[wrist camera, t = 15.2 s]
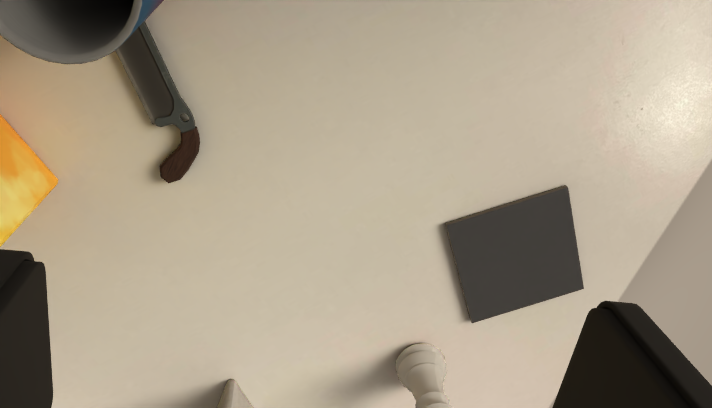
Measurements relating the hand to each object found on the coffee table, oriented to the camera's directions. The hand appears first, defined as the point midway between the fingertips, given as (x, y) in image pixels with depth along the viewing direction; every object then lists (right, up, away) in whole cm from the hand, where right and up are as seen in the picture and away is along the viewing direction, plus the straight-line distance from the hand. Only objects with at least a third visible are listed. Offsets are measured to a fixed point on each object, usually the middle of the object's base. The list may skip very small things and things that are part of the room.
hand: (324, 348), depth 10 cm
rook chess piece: (+6, -11, +43) cm, 45 cm away
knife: (-14, +11, +31) cm, 35 cm away
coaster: (+14, -2, +39) cm, 42 cm away
